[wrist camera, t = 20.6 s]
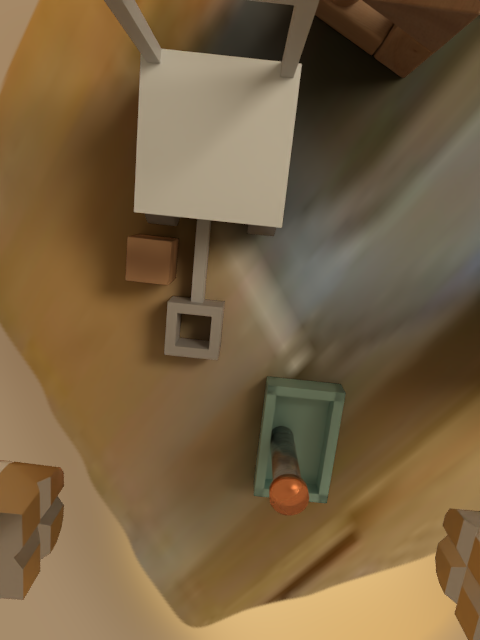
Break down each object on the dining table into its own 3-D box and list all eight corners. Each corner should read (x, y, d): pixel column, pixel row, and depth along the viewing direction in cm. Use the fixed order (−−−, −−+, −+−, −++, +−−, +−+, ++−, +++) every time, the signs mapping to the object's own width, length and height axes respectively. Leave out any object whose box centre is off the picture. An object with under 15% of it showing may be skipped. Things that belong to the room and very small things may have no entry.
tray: (340, 384, 48) (345, 393, 46) (322, 489, 51) (326, 503, 49) (266, 376, 48) (267, 385, 46) (253, 482, 51) (253, 495, 49)
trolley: (293, 80, 41) (337, -51, 20) (260, 355, 48) (268, 468, 27) (163, 66, 41) (75, -80, 20) (147, 343, 48) (68, 447, 27)
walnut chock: (175, 277, 46) (168, 285, 41) (137, 273, 46) (125, 280, 41) (178, 238, 45) (171, 241, 41) (139, 234, 45) (127, 236, 40)
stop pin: (299, 424, 49) (311, 482, 38) (294, 452, 49) (306, 517, 39) (268, 420, 49) (272, 478, 38) (264, 449, 50) (267, 512, 39)
